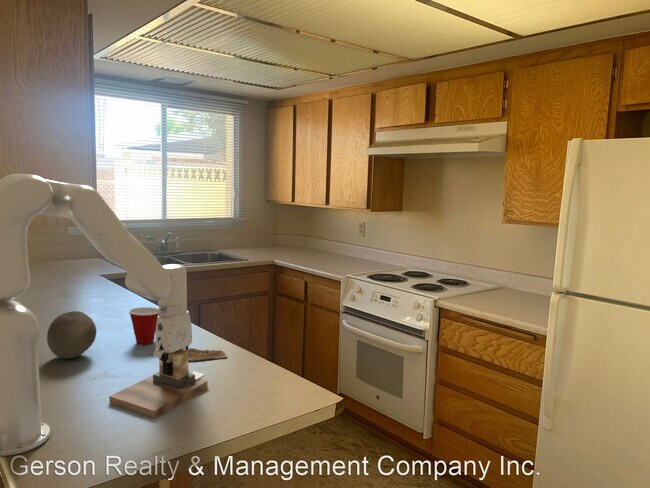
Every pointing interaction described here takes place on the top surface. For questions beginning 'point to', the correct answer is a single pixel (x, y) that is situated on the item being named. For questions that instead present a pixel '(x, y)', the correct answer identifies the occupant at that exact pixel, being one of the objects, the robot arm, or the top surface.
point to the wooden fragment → (204, 354)
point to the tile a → (198, 375)
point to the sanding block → (176, 371)
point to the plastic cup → (144, 324)
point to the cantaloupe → (71, 334)
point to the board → (154, 396)
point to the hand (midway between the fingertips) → (173, 371)
